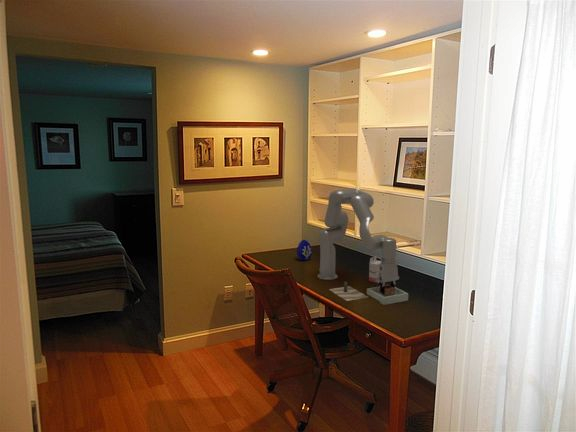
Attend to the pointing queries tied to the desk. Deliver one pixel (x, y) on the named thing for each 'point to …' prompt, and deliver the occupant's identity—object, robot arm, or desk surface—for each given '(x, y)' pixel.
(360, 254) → the desk surface
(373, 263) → the ink cartridge box
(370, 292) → the tray
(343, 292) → the stake board
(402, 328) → the desk surface
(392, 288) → the tabbed ring
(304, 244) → the ornament
